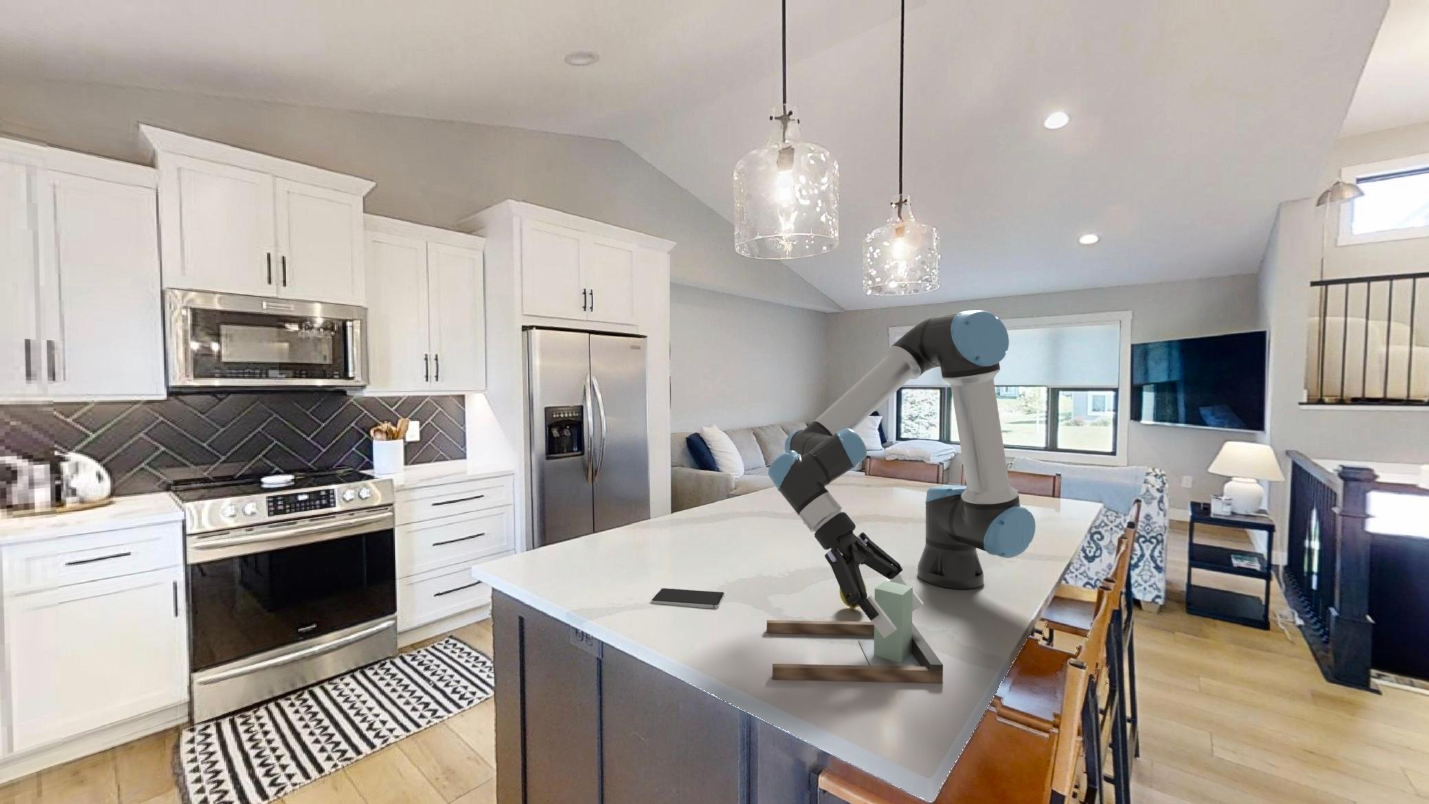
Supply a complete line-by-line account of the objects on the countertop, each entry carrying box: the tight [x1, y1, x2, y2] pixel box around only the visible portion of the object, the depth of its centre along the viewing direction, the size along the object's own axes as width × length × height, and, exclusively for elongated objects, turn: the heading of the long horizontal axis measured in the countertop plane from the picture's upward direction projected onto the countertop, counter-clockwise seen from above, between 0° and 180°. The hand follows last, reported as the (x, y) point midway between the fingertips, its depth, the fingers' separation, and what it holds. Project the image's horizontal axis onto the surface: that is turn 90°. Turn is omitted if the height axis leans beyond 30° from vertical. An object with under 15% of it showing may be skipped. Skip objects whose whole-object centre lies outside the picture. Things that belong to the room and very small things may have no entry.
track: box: [766, 619, 944, 684], centre depth 101 cm, size 28×18×3 cm, turn 88°
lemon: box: [839, 579, 867, 610], centre depth 121 cm, size 6×6×8 cm
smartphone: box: [651, 587, 725, 610], centre depth 127 cm, size 8×1×15 cm
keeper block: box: [873, 580, 914, 664], centre depth 101 cm, size 5×5×12 cm
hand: (905, 620), depth 99 cm, fingers open, 13 cm apart
